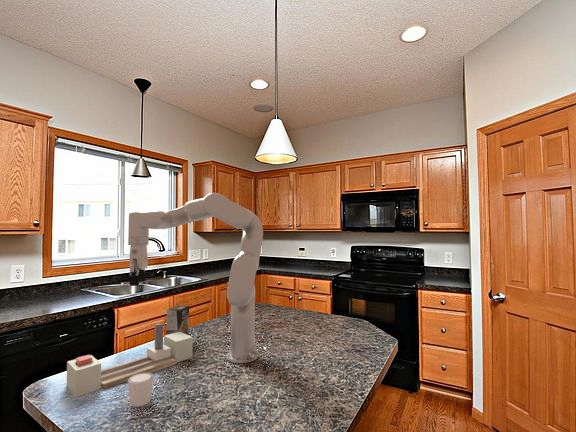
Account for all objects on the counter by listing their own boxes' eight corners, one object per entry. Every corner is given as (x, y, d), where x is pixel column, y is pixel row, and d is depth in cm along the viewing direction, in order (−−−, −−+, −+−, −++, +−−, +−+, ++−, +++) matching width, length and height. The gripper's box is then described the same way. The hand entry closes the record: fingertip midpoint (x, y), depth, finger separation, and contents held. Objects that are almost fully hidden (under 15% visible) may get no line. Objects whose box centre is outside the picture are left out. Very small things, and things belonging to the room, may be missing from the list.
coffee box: (178, 348, 134) (179, 310, 135) (165, 347, 136) (165, 309, 136) (189, 340, 143) (189, 305, 144) (176, 339, 145) (177, 304, 145)
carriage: (170, 356, 120) (170, 324, 120) (155, 361, 115) (155, 328, 116) (161, 351, 124) (162, 320, 125) (146, 355, 120) (147, 324, 120)
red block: (91, 370, 101) (92, 357, 102) (79, 374, 99) (79, 361, 99) (88, 367, 104) (88, 354, 104) (75, 370, 101) (76, 357, 101)
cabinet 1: (100, 388, 100) (101, 363, 101) (75, 397, 95) (75, 370, 96) (90, 378, 107) (91, 355, 107) (66, 386, 102) (67, 361, 102)
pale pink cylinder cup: (133, 395, 96) (133, 372, 97) (156, 394, 97) (156, 371, 97) (123, 408, 89) (124, 383, 90) (148, 407, 90) (148, 382, 90)
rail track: (176, 364, 119) (176, 357, 119) (103, 389, 100) (103, 381, 100) (161, 355, 127) (161, 349, 127) (91, 377, 108) (91, 369, 108)
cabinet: (192, 357, 125) (192, 337, 125) (176, 362, 120) (176, 341, 120) (179, 350, 132) (179, 331, 132) (163, 355, 126) (163, 335, 127)
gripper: (143, 242, 119) (142, 287, 119) (152, 240, 136) (152, 279, 136) (121, 242, 118) (120, 287, 117) (134, 240, 135) (133, 280, 134)
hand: (137, 283), depth 126 cm, fingers open, 9 cm apart
